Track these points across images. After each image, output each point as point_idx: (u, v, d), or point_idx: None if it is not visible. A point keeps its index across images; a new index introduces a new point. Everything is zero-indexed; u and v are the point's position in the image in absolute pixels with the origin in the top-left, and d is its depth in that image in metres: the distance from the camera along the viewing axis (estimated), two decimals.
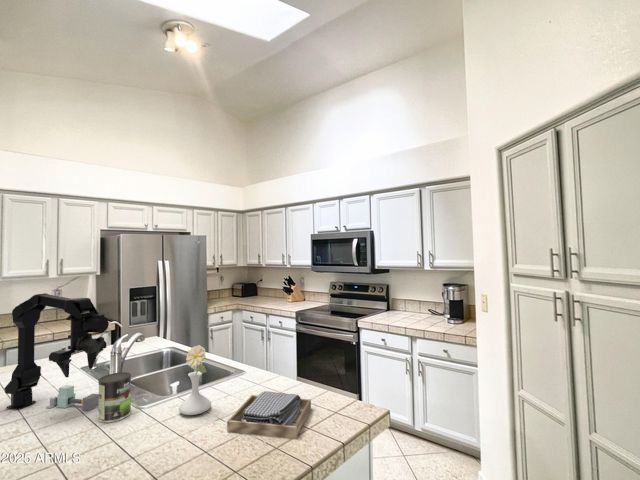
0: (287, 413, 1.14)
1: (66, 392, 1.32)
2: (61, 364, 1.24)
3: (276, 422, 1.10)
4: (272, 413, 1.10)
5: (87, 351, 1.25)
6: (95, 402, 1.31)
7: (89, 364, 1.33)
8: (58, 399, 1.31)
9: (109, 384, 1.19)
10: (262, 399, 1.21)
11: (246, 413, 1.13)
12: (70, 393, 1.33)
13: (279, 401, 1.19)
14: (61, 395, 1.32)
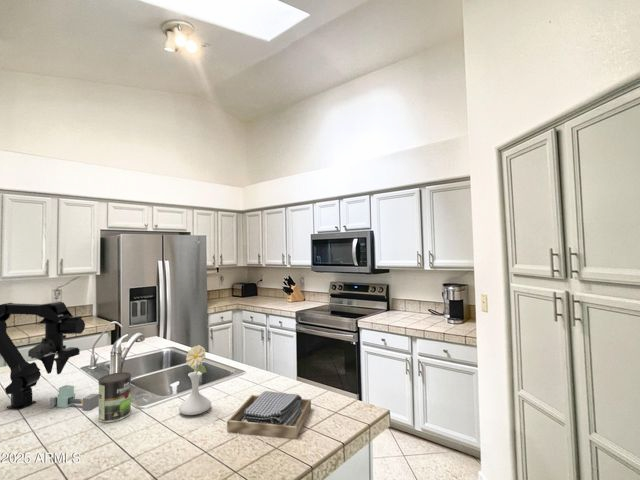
0: (288, 413, 1.14)
1: (66, 392, 1.32)
2: None
3: (277, 422, 1.10)
4: (273, 413, 1.10)
5: None
6: (95, 402, 1.31)
7: None
8: (58, 399, 1.31)
9: (109, 384, 1.19)
10: (263, 399, 1.21)
11: (247, 413, 1.13)
12: (70, 393, 1.33)
13: (280, 401, 1.19)
14: (61, 395, 1.32)
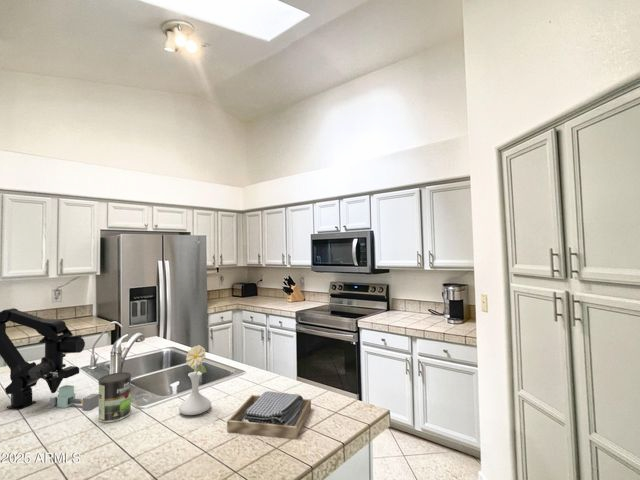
0: (289, 413, 1.14)
1: (66, 392, 1.32)
2: None
3: (278, 422, 1.10)
4: (274, 413, 1.10)
5: None
6: (95, 402, 1.31)
7: None
8: (58, 399, 1.31)
9: (109, 384, 1.19)
10: (264, 399, 1.21)
11: (248, 413, 1.13)
12: (70, 393, 1.33)
13: (281, 401, 1.19)
14: (61, 395, 1.32)
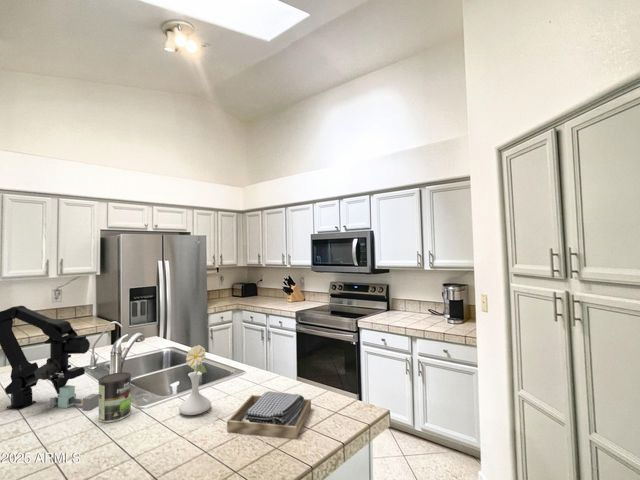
0: (290, 413, 1.13)
1: (67, 392, 1.31)
2: None
3: (279, 422, 1.10)
4: (275, 413, 1.10)
5: None
6: (95, 402, 1.31)
7: None
8: (59, 399, 1.31)
9: (109, 384, 1.19)
10: (265, 399, 1.21)
11: (249, 413, 1.13)
12: (71, 393, 1.33)
13: (282, 401, 1.19)
14: (62, 395, 1.32)
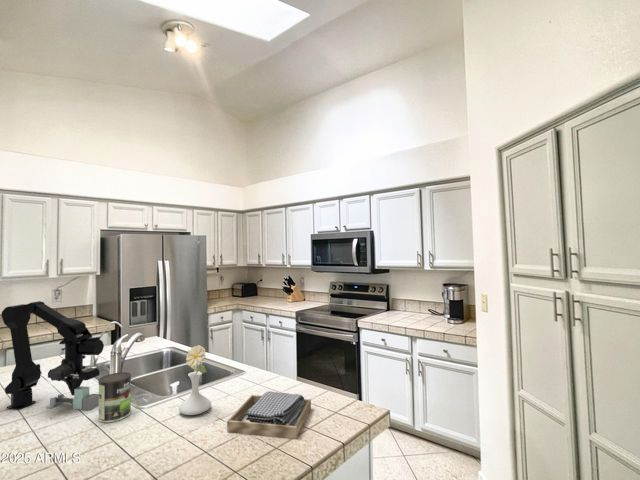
0: (291, 413, 1.13)
1: (82, 393, 1.30)
2: None
3: (280, 422, 1.10)
4: (276, 413, 1.10)
5: None
6: (95, 402, 1.31)
7: None
8: (74, 400, 1.30)
9: (109, 384, 1.19)
10: (266, 399, 1.21)
11: (250, 413, 1.13)
12: (86, 394, 1.31)
13: (283, 401, 1.19)
14: (77, 396, 1.30)
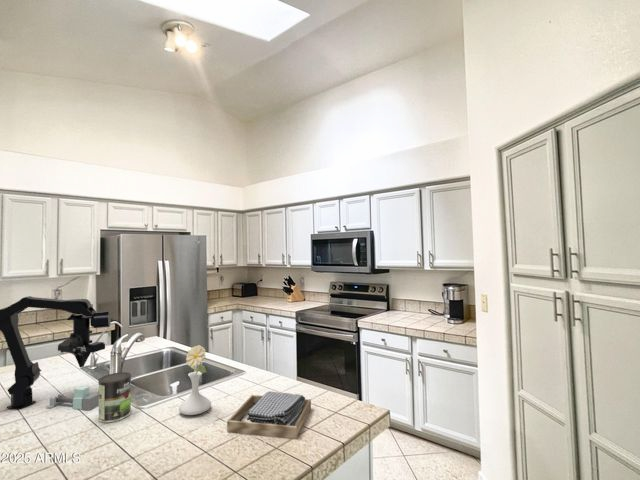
0: (292, 413, 1.13)
1: (82, 393, 1.30)
2: None
3: (281, 422, 1.10)
4: (276, 413, 1.10)
5: None
6: (95, 402, 1.31)
7: None
8: (74, 400, 1.30)
9: (109, 384, 1.19)
10: (267, 399, 1.21)
11: (251, 413, 1.13)
12: (86, 394, 1.31)
13: (284, 401, 1.19)
14: (77, 396, 1.30)
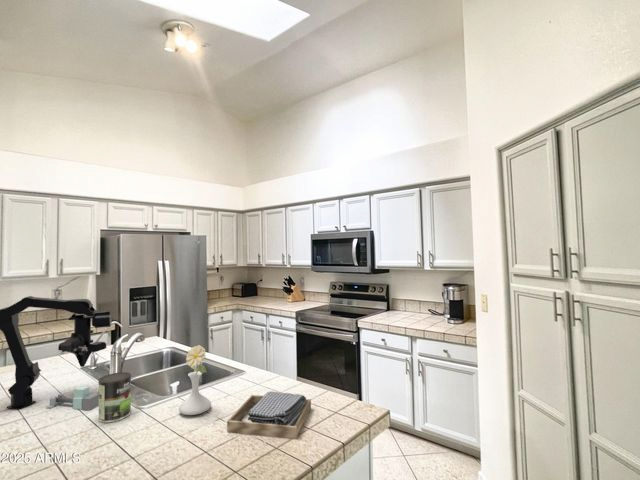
0: (292, 414, 1.13)
1: (82, 393, 1.30)
2: None
3: (281, 422, 1.10)
4: (277, 413, 1.10)
5: None
6: (95, 402, 1.31)
7: None
8: (74, 400, 1.30)
9: (109, 384, 1.19)
10: (267, 399, 1.21)
11: (251, 413, 1.13)
12: (86, 394, 1.31)
13: (284, 401, 1.18)
14: (77, 396, 1.30)
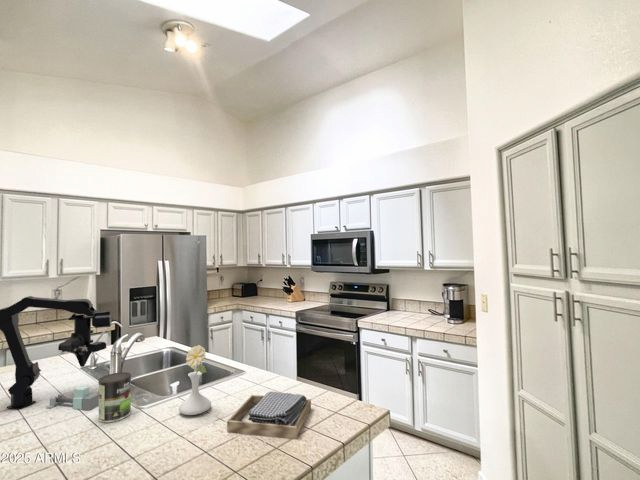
0: (293, 414, 1.13)
1: (82, 393, 1.30)
2: None
3: (282, 423, 1.10)
4: (278, 414, 1.10)
5: None
6: (95, 402, 1.31)
7: None
8: (74, 400, 1.30)
9: (109, 384, 1.19)
10: (268, 399, 1.20)
11: (252, 413, 1.13)
12: (86, 394, 1.31)
13: (285, 402, 1.18)
14: (77, 396, 1.30)
